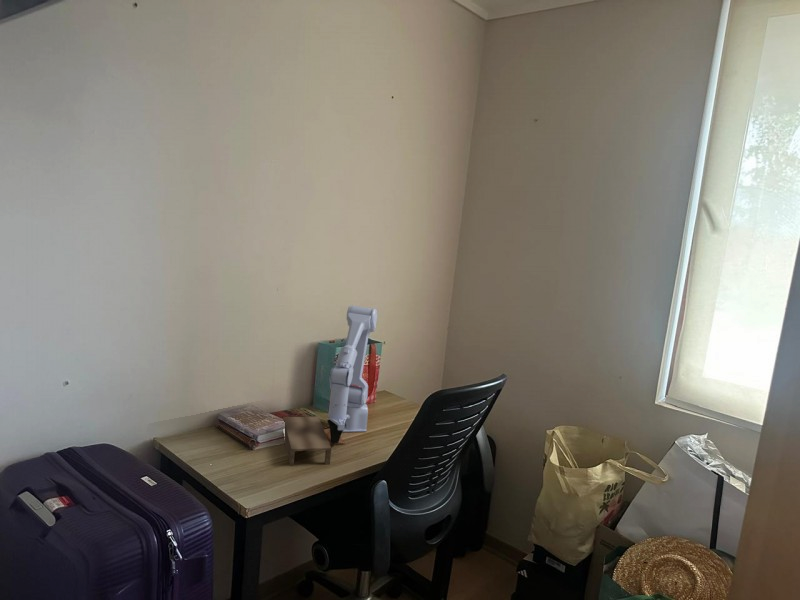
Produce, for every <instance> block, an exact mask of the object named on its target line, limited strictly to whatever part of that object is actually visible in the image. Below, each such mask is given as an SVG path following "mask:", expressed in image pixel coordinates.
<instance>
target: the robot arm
mask: <svg viewBox="0 0 800 600" xmlns="http://www.w3.org/2000/svg"><path fill="white" fill-rule="evenodd" d="M377 320H378V311H377V308H371V307H370V308H369V307H363V306H359V305H358V306H357V305H353V304H351V305H350V306H348V308H347V312H346V321H347V326H348V327H349V328H348V330H347V331H348V332H347V337H346V341H345V345H344V346H342V347H341V348H340V350H339V353H338V356H337V360H336V363H335V366H334V367H333V366H332V368H331V370H330V373H329V389H330V397H329V407H328V408H329V409H328V414H327V420H326V421H327V424H328V426H329V428H330V436H331V442H332V443H338V442H339V439H340V437H341V435H342V433H348V432H349V433H351V432H352V433H355V432H356V433H359V432H367V431H368V430H367V427H368V425H367V424H368V419H369V418H368V417H369V416H368V415H369V408H368V404H367V401H368V397H369V396H368V395H369V385H368V384H369V383H367V381H366V380H365V379H364V378H363V373H364V367H365V360H366V354H367V348H368V343H369V337H370V333H372V332H375V330H376V327H377V322H378V321H377ZM329 428H328V429H329Z"/></svg>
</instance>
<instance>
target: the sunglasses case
mask: <svg viewBox="0 0 800 600" xmlns="http://www.w3.org/2000/svg"><path fill="white" fill-rule="evenodd" d="M323 429H324V431H325V434H326V436H327V438H328V441H329V443H330V446H331V447H333V446H343V445H346V442H344V440H343V439H342V437H341V436H340V439H339V442H338V443H332V442H331V436H330V428H323ZM298 452H299V453H304V452H305V451H298Z"/></svg>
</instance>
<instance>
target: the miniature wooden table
mask: <svg viewBox="0 0 800 600" xmlns="http://www.w3.org/2000/svg"><path fill="white" fill-rule="evenodd" d="M282 418H283V419H282V422H283V421H284V422H285V441H284V445H286V446H285V450H286V454H287V457H288V462H289V466H291V467H292V466H294V463H295V453H296V452H299V451H304V452H308V451H310V452H311V451H325V454H324V456H325V457H324V465H331V458H332V456H331V455H332V446H330V443H329V441H328V438H327V436H326V434H325V431H324V429H325V428H324V426H323V425H322V422H321V419H320V416H283V417H282Z"/></svg>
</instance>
